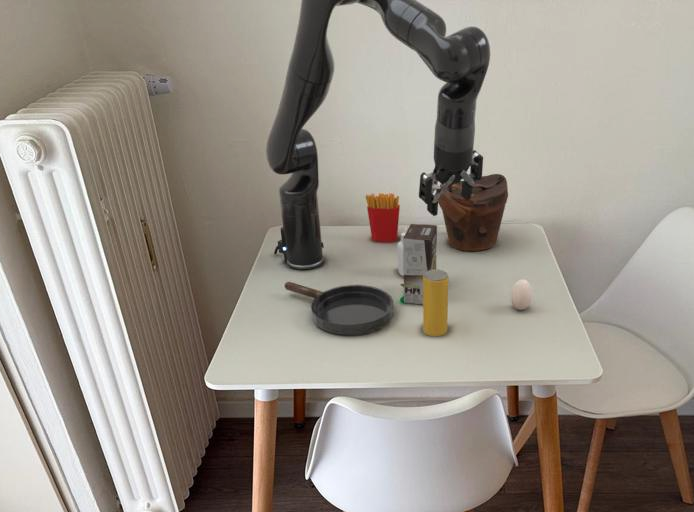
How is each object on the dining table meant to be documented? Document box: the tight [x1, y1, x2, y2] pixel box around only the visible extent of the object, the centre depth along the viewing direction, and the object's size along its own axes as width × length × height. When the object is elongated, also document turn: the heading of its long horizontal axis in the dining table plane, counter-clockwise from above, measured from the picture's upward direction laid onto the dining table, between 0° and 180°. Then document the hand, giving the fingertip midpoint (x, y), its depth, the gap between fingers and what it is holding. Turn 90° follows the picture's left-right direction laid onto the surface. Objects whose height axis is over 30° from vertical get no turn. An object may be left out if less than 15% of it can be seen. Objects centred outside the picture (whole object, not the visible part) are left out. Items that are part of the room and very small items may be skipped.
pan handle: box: [284, 281, 323, 299], centre depth 153 cm, size 11×2×2 cm, turn 58°
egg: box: [510, 278, 533, 311], centre depth 148 cm, size 5×5×7 cm
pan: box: [310, 284, 395, 336], centre depth 147 cm, size 18×18×3 cm
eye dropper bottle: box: [397, 227, 408, 277], centre depth 162 cm, size 4×6×12 cm
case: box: [438, 173, 509, 252], centre depth 176 cm, size 18×20×18 cm
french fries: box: [365, 192, 401, 243], centre depth 180 cm, size 9×4×13 cm, turn 85°
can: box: [422, 268, 449, 337], centre depth 139 cm, size 5×5×13 cm
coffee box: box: [403, 223, 438, 305], centre depth 151 cm, size 9×6×16 cm
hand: (449, 205), depth 137 cm, fingers open, 8 cm apart
